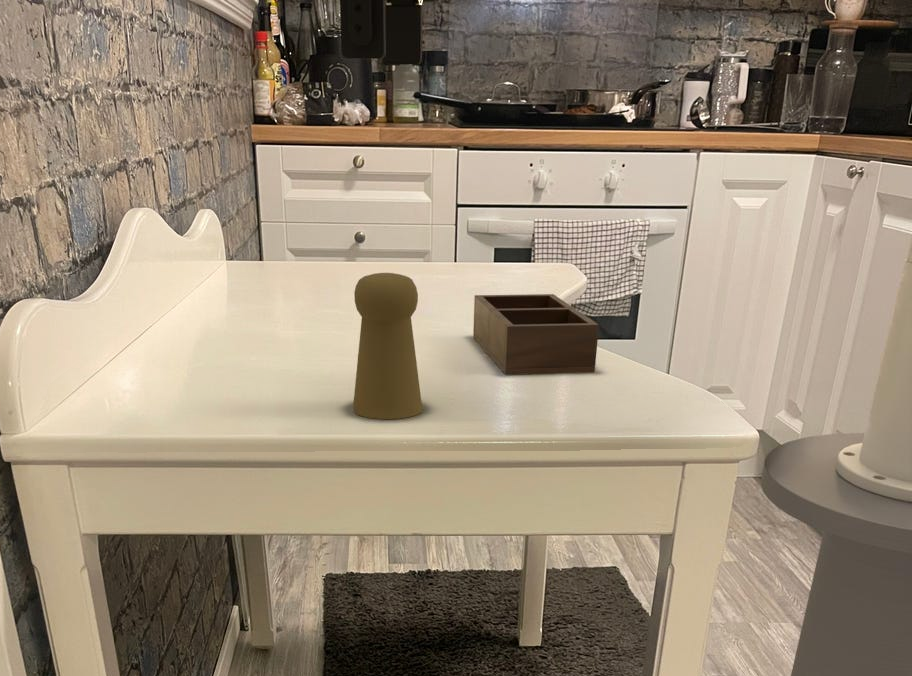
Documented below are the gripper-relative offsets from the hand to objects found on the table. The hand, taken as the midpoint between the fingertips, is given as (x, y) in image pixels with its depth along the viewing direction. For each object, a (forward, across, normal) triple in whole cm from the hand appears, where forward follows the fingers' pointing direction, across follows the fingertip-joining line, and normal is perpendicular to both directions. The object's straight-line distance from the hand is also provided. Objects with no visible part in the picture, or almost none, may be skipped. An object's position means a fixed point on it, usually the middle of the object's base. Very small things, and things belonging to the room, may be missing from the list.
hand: (384, 61), depth 73 cm
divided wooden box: (+26, +21, -9) cm, 35 cm away
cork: (+26, -4, -1) cm, 26 cm away
